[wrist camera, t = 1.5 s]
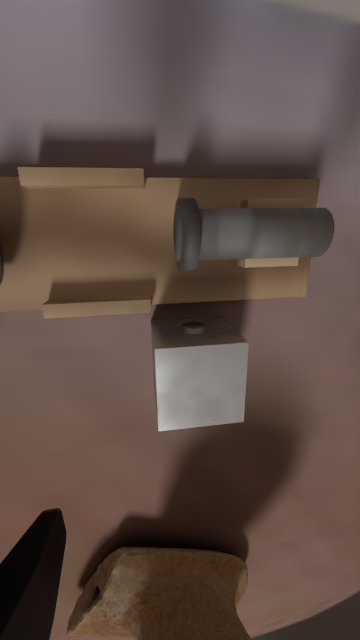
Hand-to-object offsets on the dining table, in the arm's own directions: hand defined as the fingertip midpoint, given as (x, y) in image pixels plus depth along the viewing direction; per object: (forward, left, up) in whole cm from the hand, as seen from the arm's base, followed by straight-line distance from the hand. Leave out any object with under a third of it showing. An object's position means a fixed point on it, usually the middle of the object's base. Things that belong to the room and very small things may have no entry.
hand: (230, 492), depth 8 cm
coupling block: (-1, -1, -12) cm, 12 cm away
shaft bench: (+6, +5, -12) cm, 15 cm away
